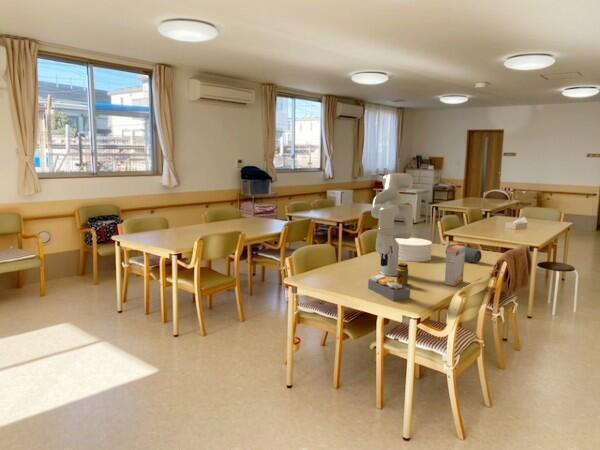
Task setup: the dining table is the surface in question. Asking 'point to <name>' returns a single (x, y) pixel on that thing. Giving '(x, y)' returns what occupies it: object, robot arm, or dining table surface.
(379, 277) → the outlet rocker
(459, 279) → the cracker box
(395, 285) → the rocker outlet
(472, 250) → the bluetooth speaker
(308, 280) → the dining table surface
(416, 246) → the plate stack
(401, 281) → the condiment
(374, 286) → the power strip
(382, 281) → the outlet rocker
